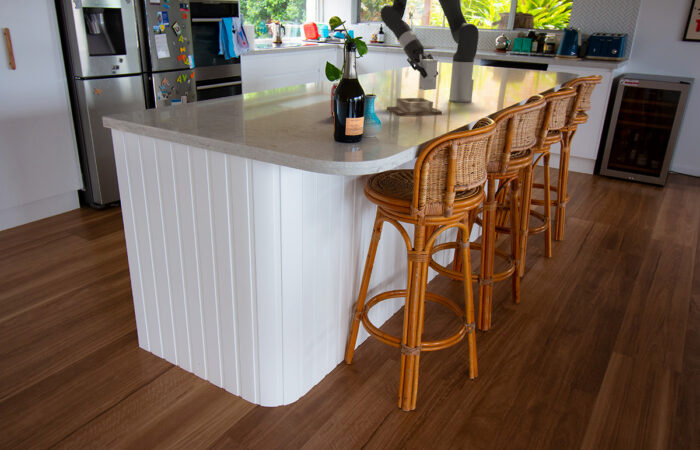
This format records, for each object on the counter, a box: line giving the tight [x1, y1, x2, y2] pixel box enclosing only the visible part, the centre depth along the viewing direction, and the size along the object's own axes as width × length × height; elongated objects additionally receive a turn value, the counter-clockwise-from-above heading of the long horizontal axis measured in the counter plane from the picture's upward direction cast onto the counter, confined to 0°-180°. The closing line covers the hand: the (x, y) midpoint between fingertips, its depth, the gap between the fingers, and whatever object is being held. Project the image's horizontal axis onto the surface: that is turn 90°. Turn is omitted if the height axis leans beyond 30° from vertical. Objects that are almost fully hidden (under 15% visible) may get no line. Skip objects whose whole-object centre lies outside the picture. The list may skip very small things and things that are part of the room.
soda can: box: [330, 82, 339, 117], centre depth 204 cm, size 7×7×12 cm
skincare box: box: [418, 58, 438, 91], centre depth 229 cm, size 6×4×12 cm
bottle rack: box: [386, 97, 443, 117], centre depth 218 cm, size 18×14×5 cm
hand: (431, 75), depth 228 cm, fingers closed on skincare box, 6 cm apart
